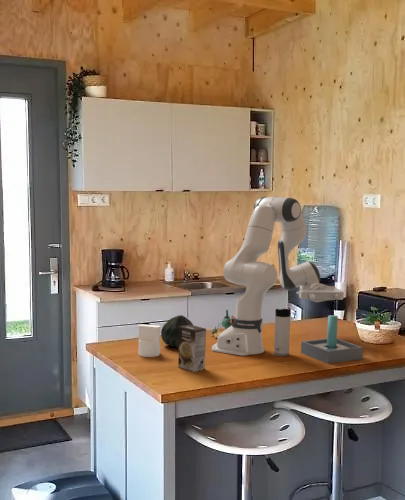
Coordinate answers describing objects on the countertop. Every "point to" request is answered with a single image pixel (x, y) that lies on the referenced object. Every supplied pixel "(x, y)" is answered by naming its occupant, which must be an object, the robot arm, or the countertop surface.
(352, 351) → the box
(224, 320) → the frog figurine
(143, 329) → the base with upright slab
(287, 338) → the travel mug
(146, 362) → the countertop surface
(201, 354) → the coffee box
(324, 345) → the plate
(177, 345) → the squash
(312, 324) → the countertop surface
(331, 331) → the peg
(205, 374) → the countertop surface
